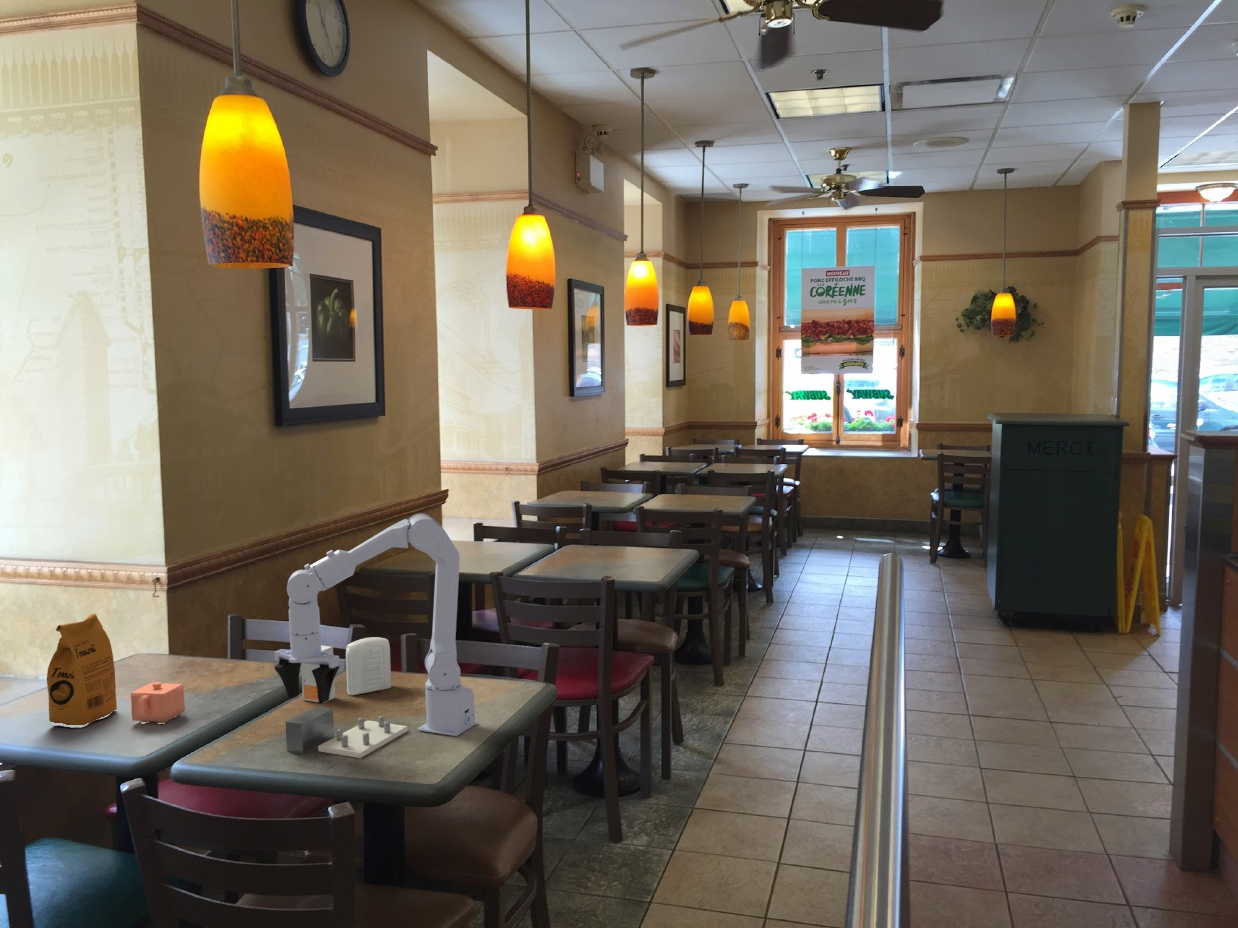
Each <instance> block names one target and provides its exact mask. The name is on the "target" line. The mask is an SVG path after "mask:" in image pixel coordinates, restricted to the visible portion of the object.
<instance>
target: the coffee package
mask: <svg viewBox="0 0 1238 928" xmlns="http://www.w3.org/2000/svg"><path fill="white" fill-rule="evenodd" d="M55 631H56V632H59V634H60V636H61V637H60V638H59V639H58V642H57V646H56V650H55V651H54V654H53V655H52V656H51V660H50V662H49V664H48V667H47V673H46V685H47V693H48V694H47V695H48V720H49V722H50V723H51V722H54V723H63V724H66V725H85V724H87V723H90V722H92V721H94V720H96V719H99V718H101V717H104V716H106V715H108V714H110V713H111V712H113V711H114V710H116V709H117V710H118V705H117V694H116V693H117V692H116V691H117V690H116V688H117V687H116V685H117V684H116V670H115V669H116V668H115V664H114V663H115V661H114V660H115V659H114V654H113V648H112V643H111V641H110V639H109V636H108V634H107V632H106V630H105V629H104V627H103V625H102V622H101V621H100V620H99V617H98V616H97V613H92V614H90V615H88V616H87V617H86V619H84V620H83V621H78V622H77V621H76V622H70V623H64V624H58V625H57V626H56V629H55ZM113 713H114V712H113ZM94 722H95V721H94ZM92 723H93V722H92Z"/></svg>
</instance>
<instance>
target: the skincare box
mask: <svg viewBox="0 0 1238 928" xmlns="http://www.w3.org/2000/svg"><path fill="white" fill-rule="evenodd" d="M321 651H323V652H326V653H329V654H332V655H334V647H333V646H328V645H323V644H321ZM318 667H320V666H319V665H312V664H304V663H301V667H300V672H301V688H302V689H301V691H302V701H308V702H312V703H313V702H314V703H319V701H318V693H317V685H316V681H315V678H314V676H313V673H312V670H313V669H316V668H318ZM335 686H336V685H335V679H334V680H333V683H332V687H331V691H330V696H329V700H328V701H326V702H324V703H323V704H325V703H327V702H329V701H331V700H333V699H335V698H336V687H335Z"/></svg>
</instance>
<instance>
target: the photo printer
mask: <svg viewBox="0 0 1238 928" xmlns="http://www.w3.org/2000/svg"><path fill="white" fill-rule="evenodd" d="M345 665H346V672H345V673H346V693H347V694H348V695H349V696H355V695H361V694H367V693H372V692H377V691H383V690H388V689H391V688H392V675H391V673H392V671H391V669H392V667H391V646H390V642H389V639H387V638H383V637H377V636H375V637H373V636H372V637H364V638H361V639H358V640H355V641H352V642H350V643H348V644H347V645H346V648H345Z"/></svg>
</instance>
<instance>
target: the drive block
mask: <svg viewBox="0 0 1238 928" xmlns="http://www.w3.org/2000/svg"><path fill="white" fill-rule="evenodd" d="M284 723H285V738H286V739H285V740H286V741H285V742H286V751H287V752H290V753H295V754H296V753H297V754H301V755H303V754H306V753H307V752H309V751H311V750H313V749H315V748H317V747H318V746H319V745H321V744H323V743H325V742H327V741H329V740H331V739H333V738H335V723H334V708H330V707H329V708H328V707H322V706H315V707H313V708H311V709H309V710H307V711H305V712H303V713H300V714H299V715H297V716H296V715H295V716H294V717H293V718H290V719H288V720H286V721H285V722H284Z"/></svg>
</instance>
